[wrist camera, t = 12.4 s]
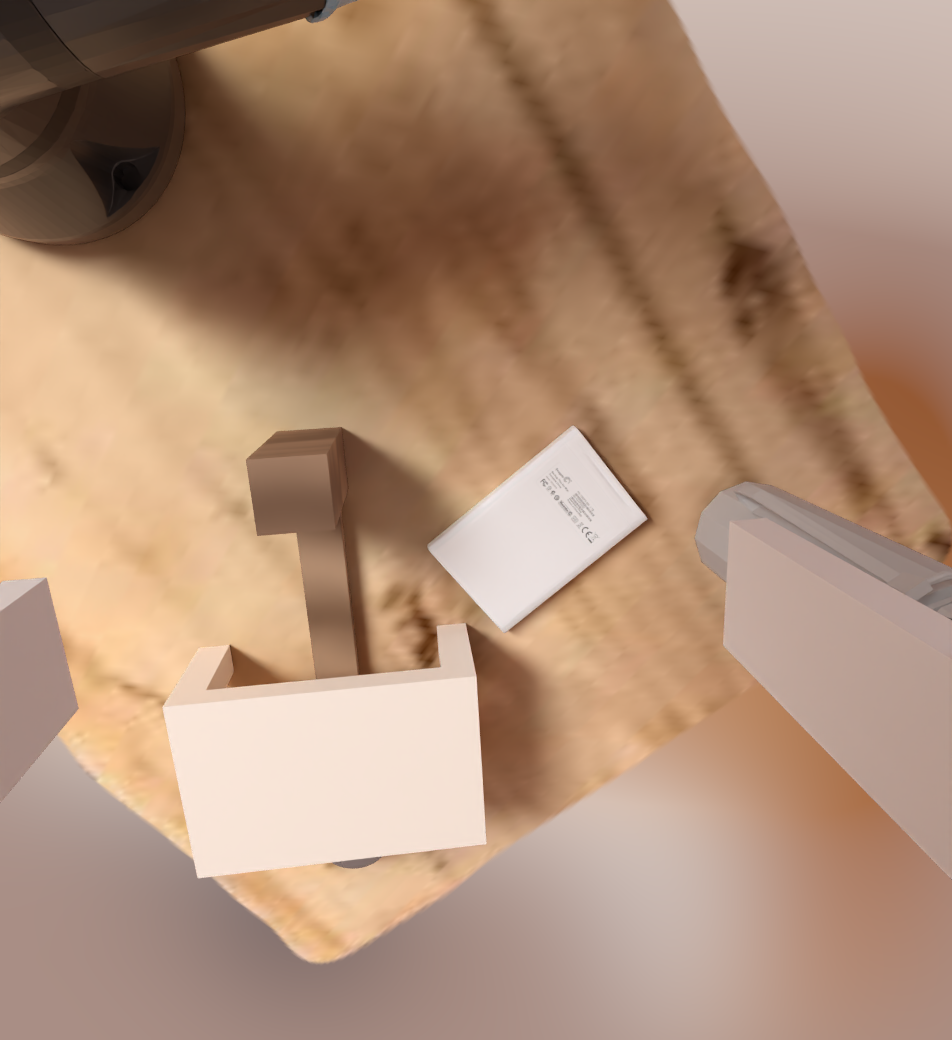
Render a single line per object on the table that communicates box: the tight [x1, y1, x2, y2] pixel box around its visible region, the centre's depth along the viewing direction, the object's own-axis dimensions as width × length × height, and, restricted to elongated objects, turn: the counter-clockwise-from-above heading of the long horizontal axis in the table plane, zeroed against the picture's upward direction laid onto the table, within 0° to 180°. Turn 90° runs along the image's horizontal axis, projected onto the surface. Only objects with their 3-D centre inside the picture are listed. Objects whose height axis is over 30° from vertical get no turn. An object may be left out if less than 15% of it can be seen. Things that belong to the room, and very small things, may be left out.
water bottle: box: [695, 482, 952, 619], centre depth 36 cm, size 9×8×25 cm
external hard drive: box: [427, 425, 647, 633], centre depth 47 cm, size 2×8×12 cm
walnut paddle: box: [246, 427, 360, 679], centre depth 42 cm, size 20×4×9 cm, turn 3°
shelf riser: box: [163, 623, 486, 878], centre depth 46 cm, size 12×18×8 cm, turn 93°
